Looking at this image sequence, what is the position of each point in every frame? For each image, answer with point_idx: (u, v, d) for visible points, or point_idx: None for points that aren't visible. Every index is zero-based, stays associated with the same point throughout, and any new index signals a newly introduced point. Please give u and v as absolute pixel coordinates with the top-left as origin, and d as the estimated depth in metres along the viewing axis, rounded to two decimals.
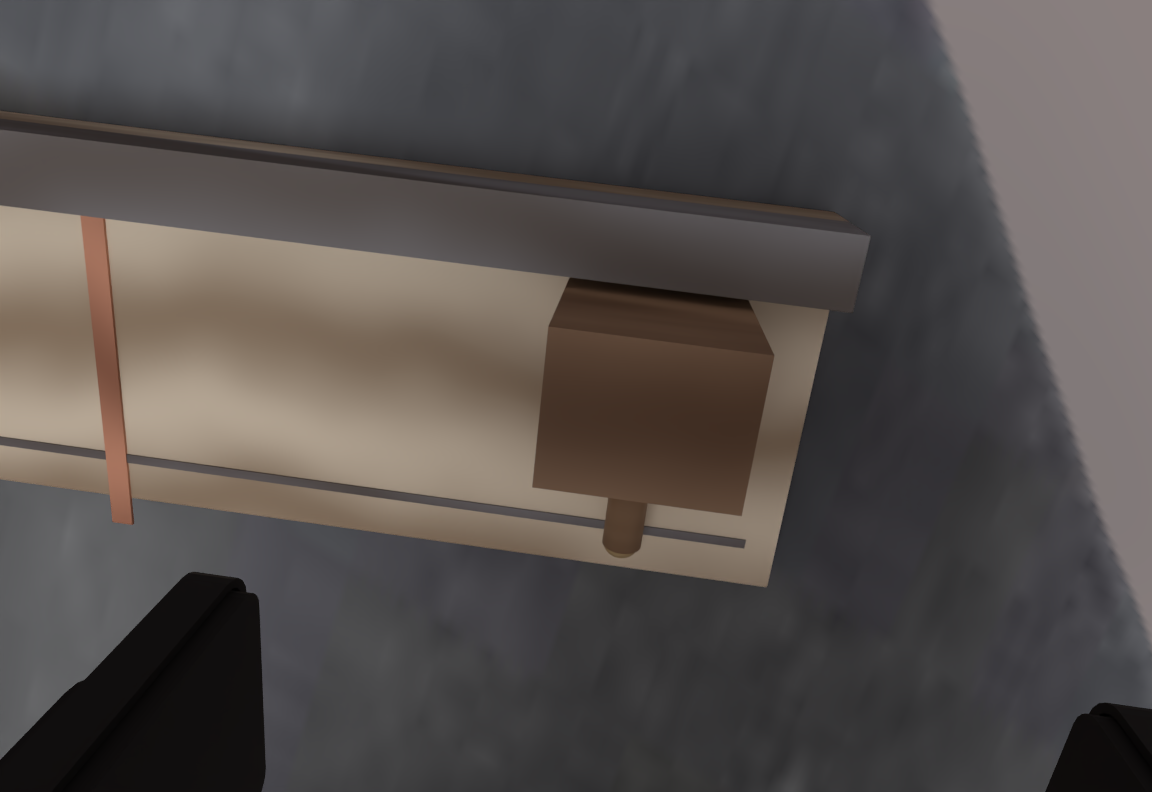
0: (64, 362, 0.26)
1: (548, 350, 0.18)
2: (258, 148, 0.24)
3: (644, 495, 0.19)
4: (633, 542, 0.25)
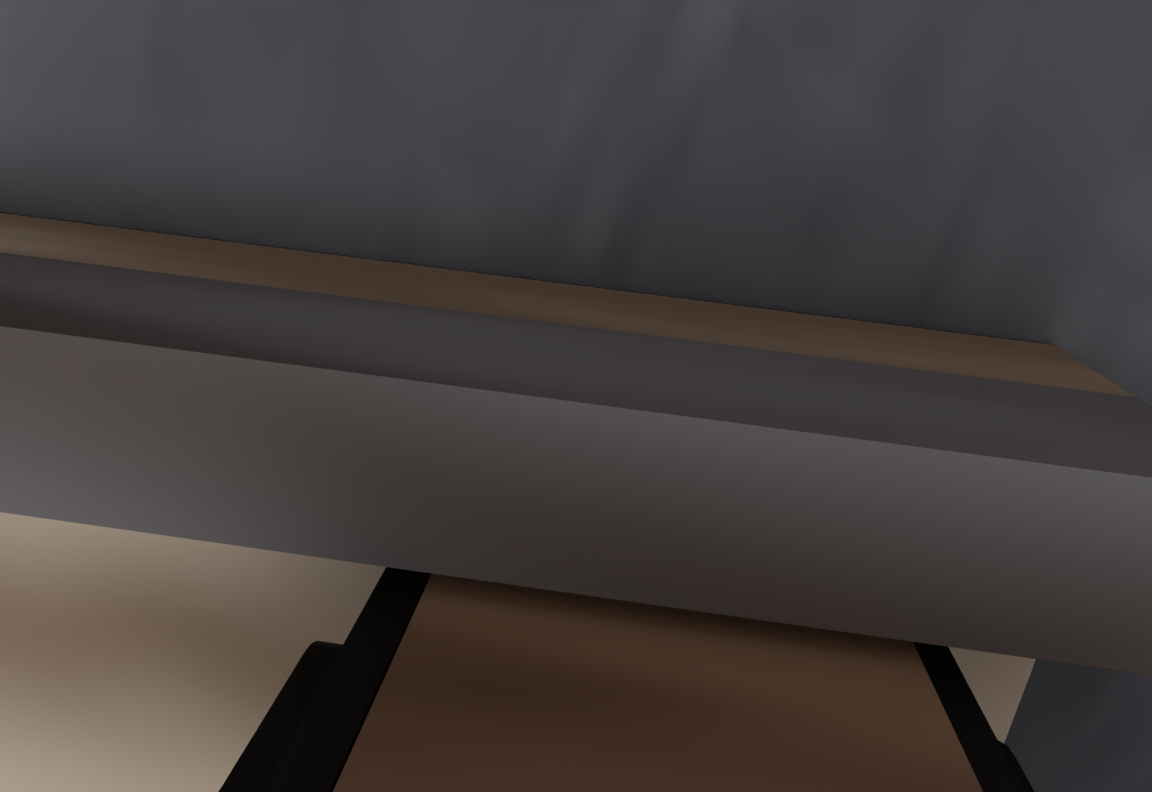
0: None
1: None
2: None
3: None
4: None
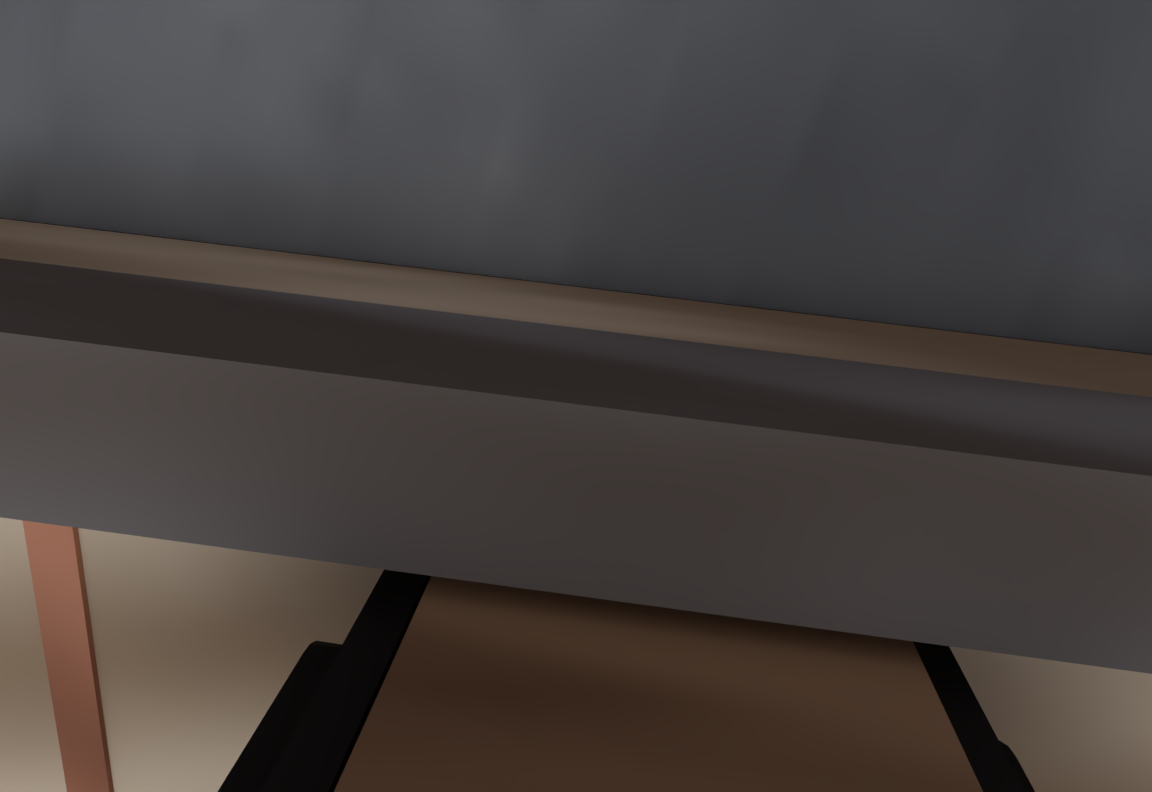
0: None
1: None
2: (428, 301, 0.10)
3: None
4: None
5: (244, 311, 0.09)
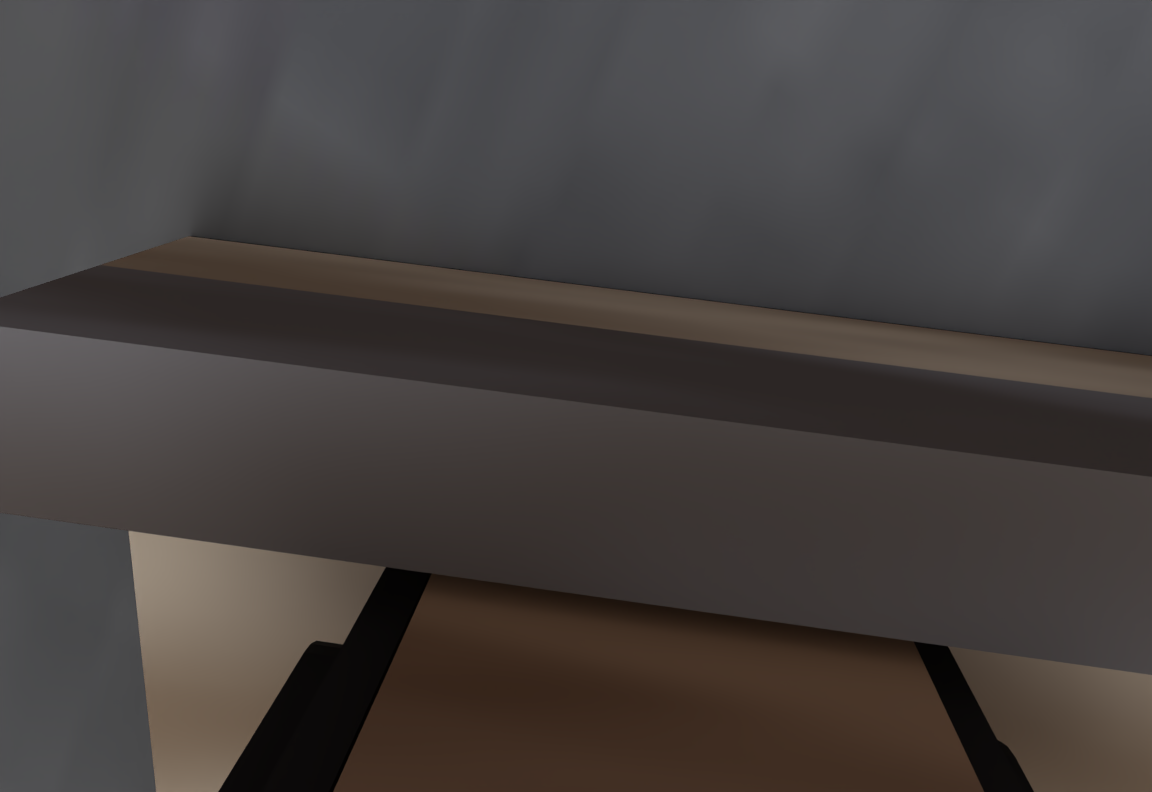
0: None
1: None
2: (1024, 373, 0.10)
3: None
4: None
5: (908, 392, 0.09)
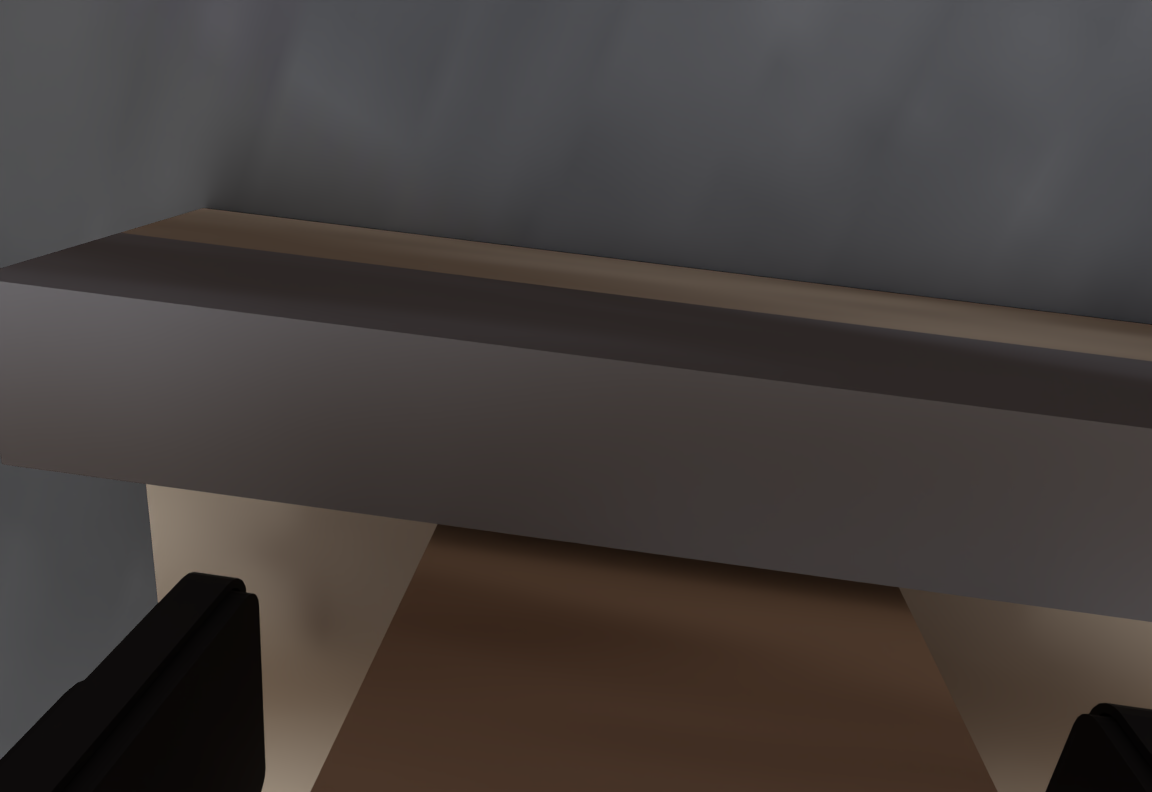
0: None
1: None
2: (1018, 337, 0.10)
3: None
4: None
5: (905, 351, 0.09)
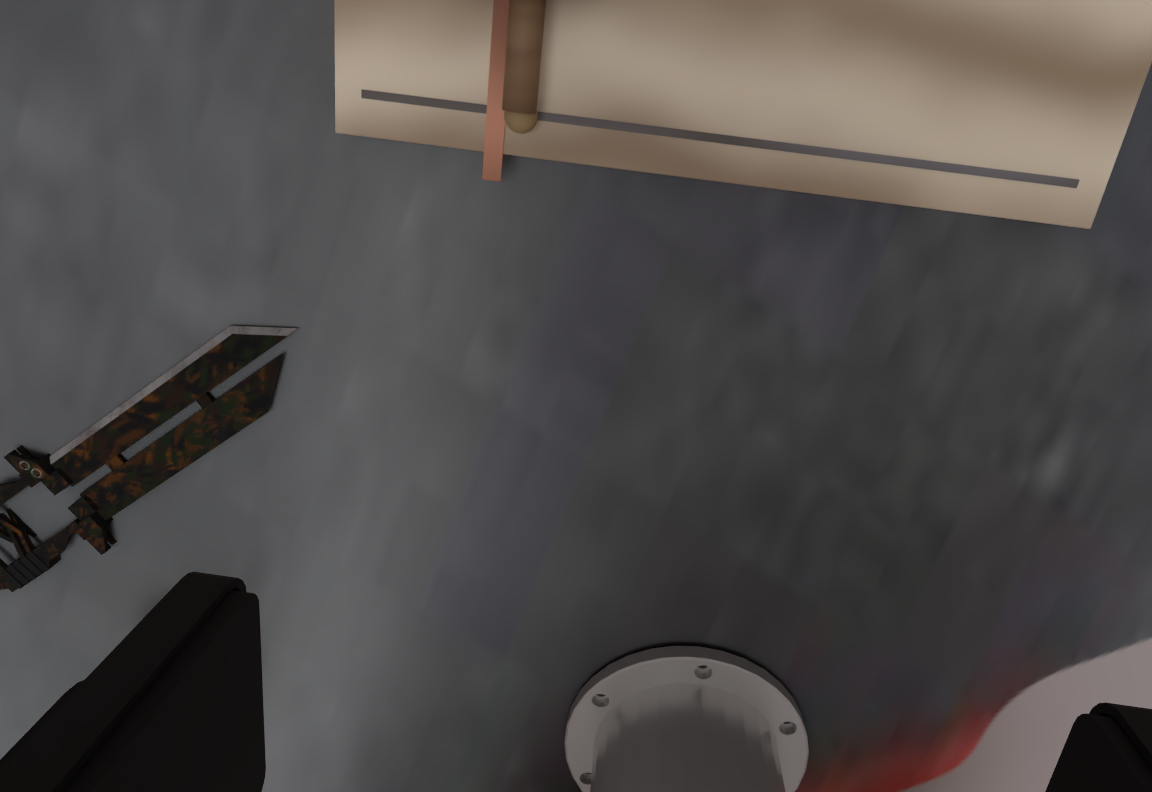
0: (461, 10, 0.29)
1: None
2: None
3: None
4: (527, 102, 0.28)
5: None
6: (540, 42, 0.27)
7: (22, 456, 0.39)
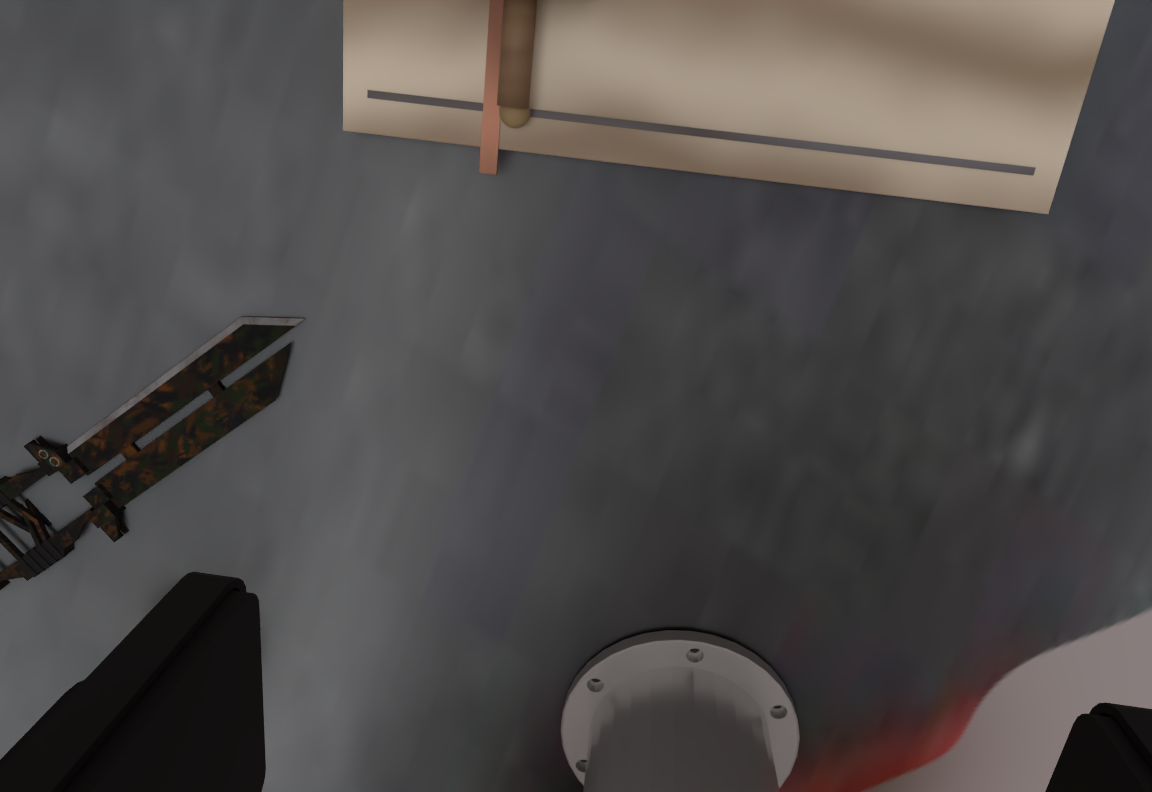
0: (459, 16, 0.31)
1: None
2: None
3: None
4: (520, 97, 0.30)
5: None
6: (531, 42, 0.30)
7: (41, 445, 0.41)
